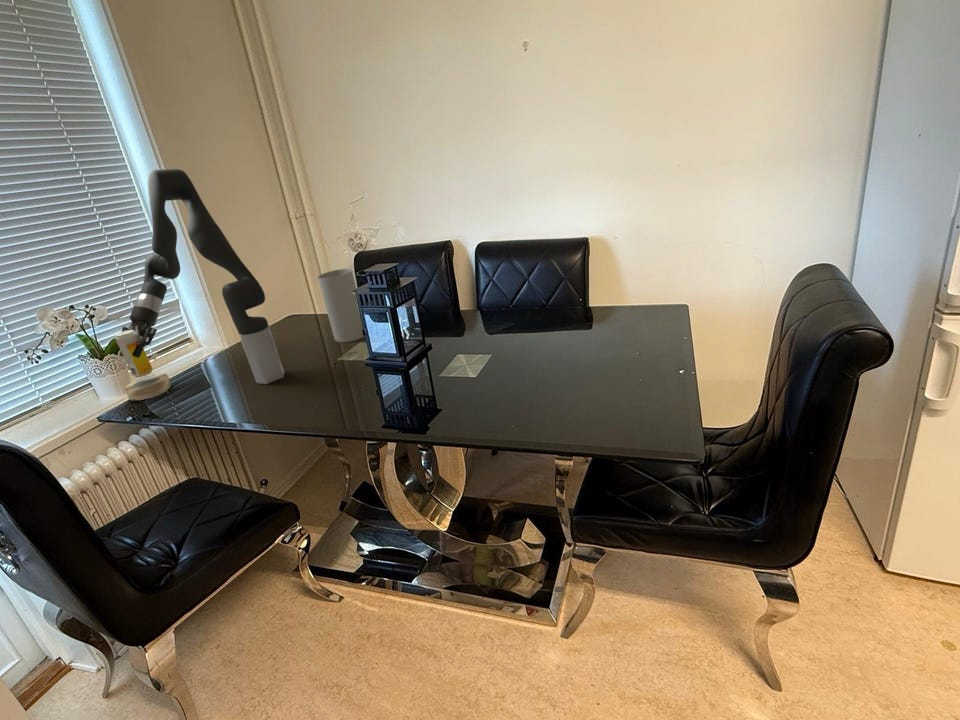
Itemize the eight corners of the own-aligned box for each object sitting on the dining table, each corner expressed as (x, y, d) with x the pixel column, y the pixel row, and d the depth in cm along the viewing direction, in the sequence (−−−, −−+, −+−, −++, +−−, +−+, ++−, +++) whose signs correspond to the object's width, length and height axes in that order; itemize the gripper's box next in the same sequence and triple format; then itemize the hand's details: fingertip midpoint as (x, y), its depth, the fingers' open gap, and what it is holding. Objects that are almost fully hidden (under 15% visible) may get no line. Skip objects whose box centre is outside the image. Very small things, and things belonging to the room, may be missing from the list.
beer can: (157, 369, 177) (139, 328, 171) (145, 377, 171) (126, 335, 165) (141, 371, 178) (123, 330, 172) (129, 379, 172) (109, 337, 166)
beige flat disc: (175, 390, 176) (170, 379, 174) (132, 405, 169) (126, 394, 167) (168, 380, 185) (163, 369, 184) (127, 394, 179) (122, 384, 177)
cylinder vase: (354, 329, 207) (338, 268, 197) (374, 332, 199) (358, 269, 189) (328, 341, 198) (310, 277, 189) (348, 345, 191) (330, 279, 181)
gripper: (121, 305, 175) (103, 352, 170) (151, 304, 169) (133, 353, 164) (142, 314, 181) (125, 360, 176) (171, 314, 176) (154, 361, 171)
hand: (129, 356), depth 170 cm, fingers closed on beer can, 5 cm apart
